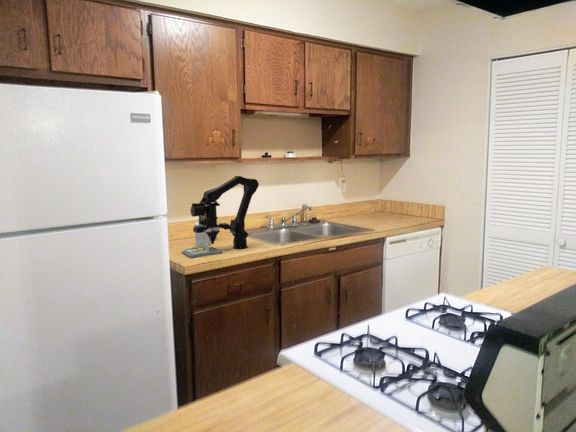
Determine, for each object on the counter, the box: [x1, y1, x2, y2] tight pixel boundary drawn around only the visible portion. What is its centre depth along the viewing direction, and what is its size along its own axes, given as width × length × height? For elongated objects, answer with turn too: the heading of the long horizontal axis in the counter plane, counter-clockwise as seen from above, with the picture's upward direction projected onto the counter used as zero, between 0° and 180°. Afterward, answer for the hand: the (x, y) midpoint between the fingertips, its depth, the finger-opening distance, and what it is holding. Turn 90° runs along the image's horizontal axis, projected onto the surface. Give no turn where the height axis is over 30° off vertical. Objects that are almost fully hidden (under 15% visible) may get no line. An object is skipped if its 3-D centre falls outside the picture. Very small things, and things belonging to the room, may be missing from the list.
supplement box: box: [193, 221, 211, 246], centre depth 243 cm, size 7×7×13 cm
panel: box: [183, 241, 210, 255], centre depth 220 cm, size 9×12×4 cm
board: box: [181, 245, 223, 259], centre depth 222 cm, size 18×13×4 cm
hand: (212, 243), depth 225 cm, fingers closed
